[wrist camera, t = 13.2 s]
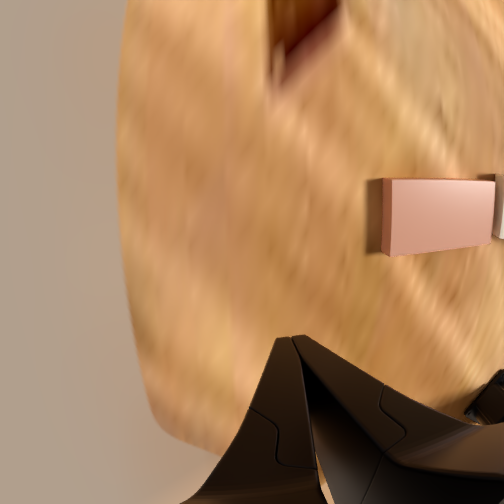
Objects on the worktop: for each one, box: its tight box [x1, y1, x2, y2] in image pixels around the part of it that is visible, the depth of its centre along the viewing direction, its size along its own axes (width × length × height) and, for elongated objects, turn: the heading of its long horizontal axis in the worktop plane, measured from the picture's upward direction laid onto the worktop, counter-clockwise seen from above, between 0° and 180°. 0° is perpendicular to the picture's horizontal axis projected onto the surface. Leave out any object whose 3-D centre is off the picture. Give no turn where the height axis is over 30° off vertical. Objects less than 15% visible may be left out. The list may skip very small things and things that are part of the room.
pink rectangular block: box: [381, 178, 495, 257], centre depth 17 cm, size 2×4×9 cm
